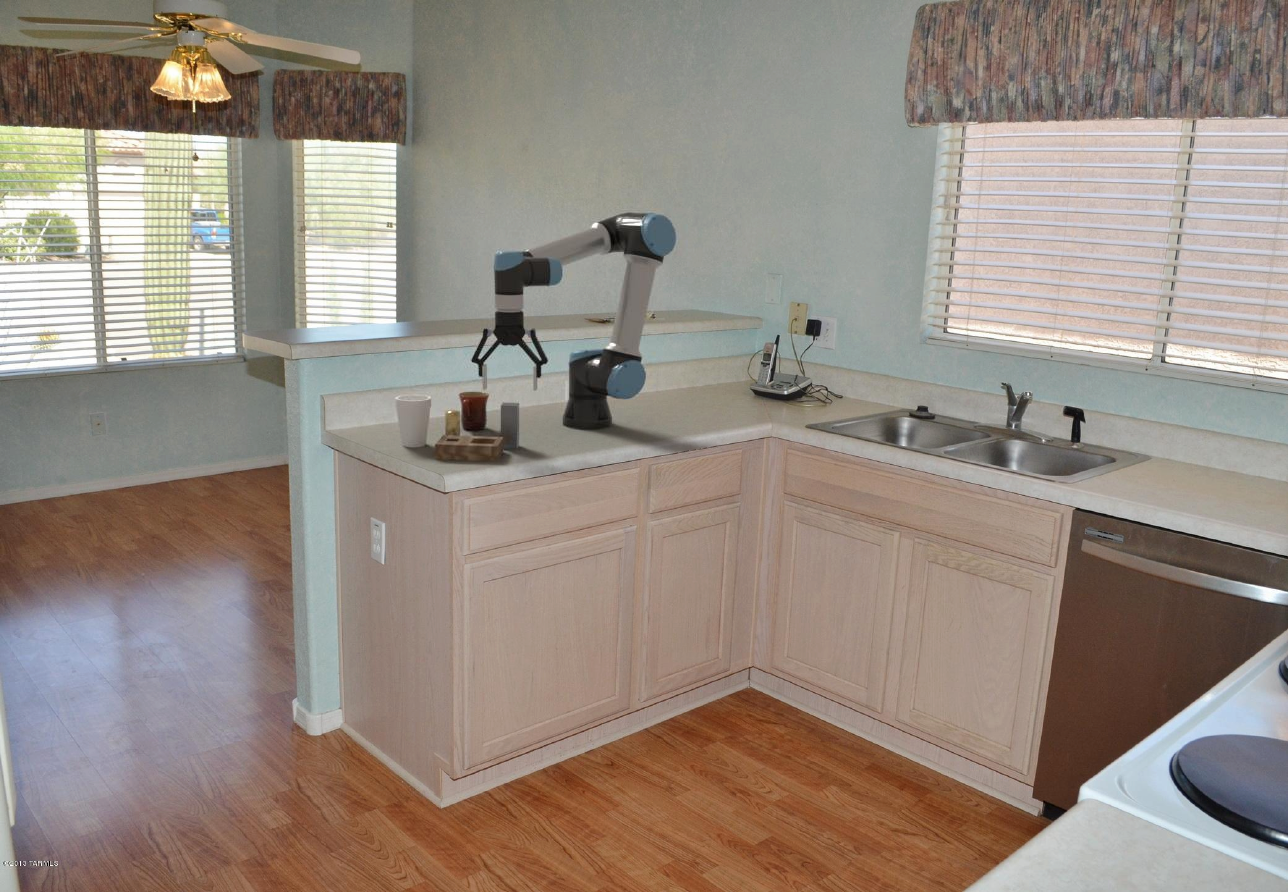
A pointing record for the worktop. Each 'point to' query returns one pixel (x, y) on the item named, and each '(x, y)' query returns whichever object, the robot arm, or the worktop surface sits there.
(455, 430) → the brass dowel
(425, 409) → the foam cup
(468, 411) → the mug
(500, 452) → the socket block
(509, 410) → the square bit
